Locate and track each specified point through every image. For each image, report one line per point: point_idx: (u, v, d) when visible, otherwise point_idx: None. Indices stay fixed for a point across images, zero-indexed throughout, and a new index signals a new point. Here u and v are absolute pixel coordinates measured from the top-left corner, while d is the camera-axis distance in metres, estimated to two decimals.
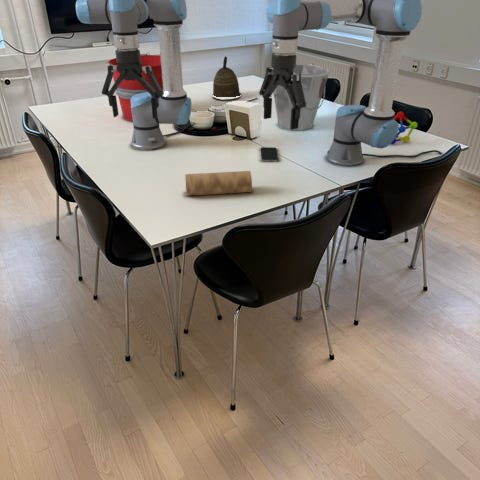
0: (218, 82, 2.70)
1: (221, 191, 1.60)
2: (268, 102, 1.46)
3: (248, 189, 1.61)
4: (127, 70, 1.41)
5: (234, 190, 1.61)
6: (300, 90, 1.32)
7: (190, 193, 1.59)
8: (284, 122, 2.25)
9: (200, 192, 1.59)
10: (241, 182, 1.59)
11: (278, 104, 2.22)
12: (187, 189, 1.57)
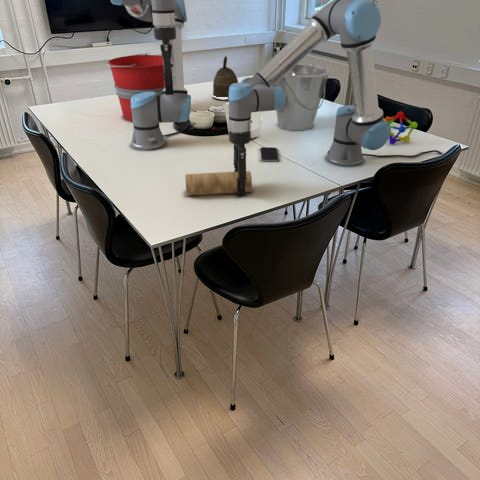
0: (218, 82, 2.70)
1: (221, 191, 1.60)
2: None
3: (248, 189, 1.61)
4: None
5: (234, 190, 1.61)
6: None
7: (190, 193, 1.59)
8: (284, 122, 2.25)
9: (200, 192, 1.59)
10: None
11: None
12: (187, 189, 1.57)
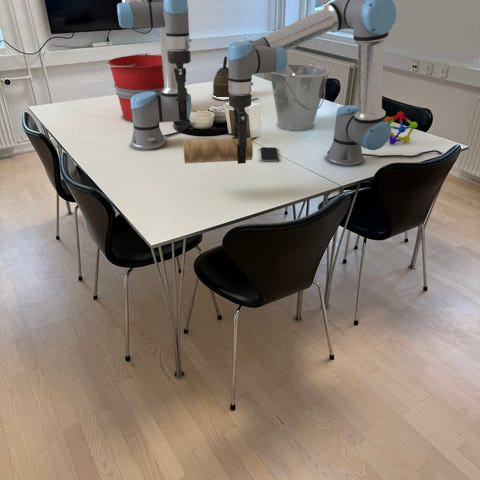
0: (218, 82, 2.70)
1: (221, 158, 1.54)
2: None
3: (249, 156, 1.55)
4: None
5: (234, 157, 1.54)
6: None
7: (188, 160, 1.52)
8: (284, 122, 2.25)
9: (199, 159, 1.53)
10: None
11: (278, 104, 2.22)
12: (185, 156, 1.51)
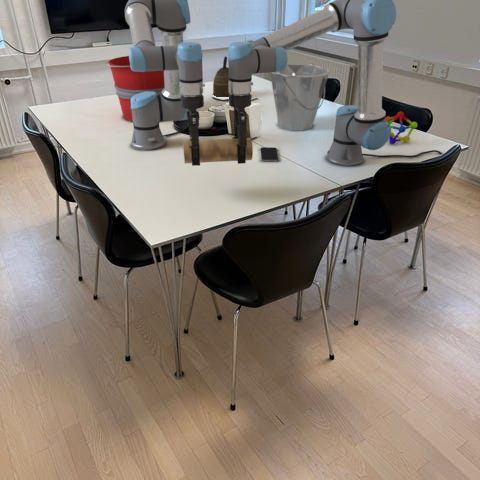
0: (218, 82, 2.70)
1: (220, 158, 1.54)
2: None
3: (249, 156, 1.55)
4: None
5: (234, 157, 1.54)
6: None
7: (188, 160, 1.52)
8: (284, 122, 2.25)
9: None
10: None
11: (278, 104, 2.22)
12: (185, 156, 1.51)
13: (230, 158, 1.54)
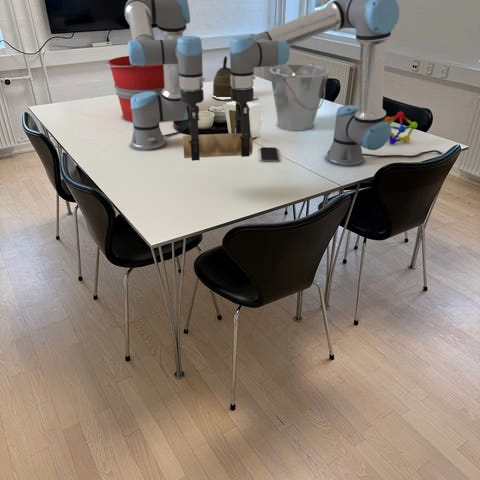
0: (218, 82, 2.70)
1: (220, 153, 1.53)
2: None
3: (249, 151, 1.54)
4: None
5: (234, 152, 1.53)
6: None
7: (188, 155, 1.52)
8: (284, 122, 2.25)
9: None
10: None
11: (278, 104, 2.22)
12: (185, 151, 1.50)
13: (230, 153, 1.53)
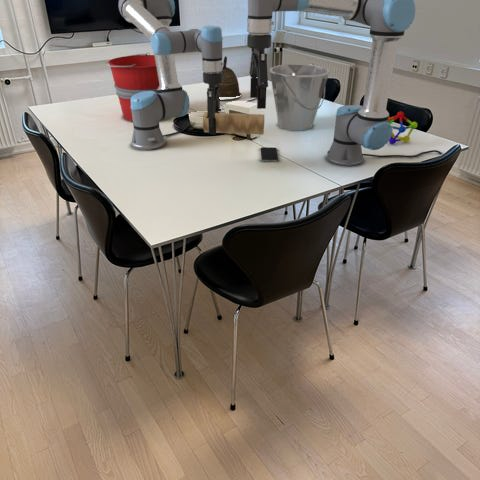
0: None
1: (234, 130, 1.74)
2: None
3: (259, 131, 1.73)
4: (215, 89, 1.70)
5: (246, 130, 1.74)
6: None
7: (206, 129, 1.76)
8: (284, 122, 2.25)
9: None
10: (253, 123, 1.72)
11: (278, 104, 2.22)
12: (203, 125, 1.74)
13: (243, 131, 1.74)
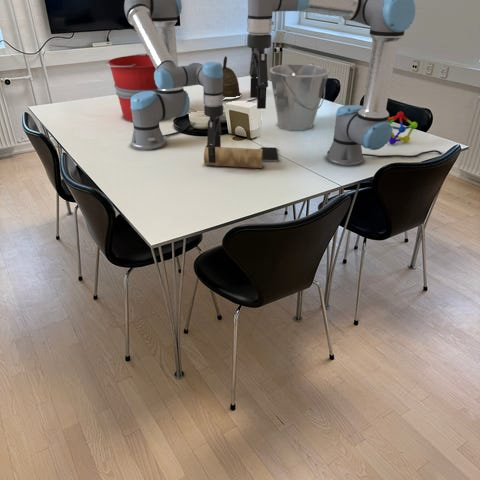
0: None
1: (234, 164, 1.82)
2: None
3: (258, 165, 1.81)
4: (216, 121, 1.76)
5: (245, 164, 1.81)
6: None
7: (207, 163, 1.83)
8: (284, 122, 2.25)
9: (216, 163, 1.83)
10: (252, 157, 1.79)
11: (278, 104, 2.22)
12: (204, 159, 1.82)
13: (242, 164, 1.82)
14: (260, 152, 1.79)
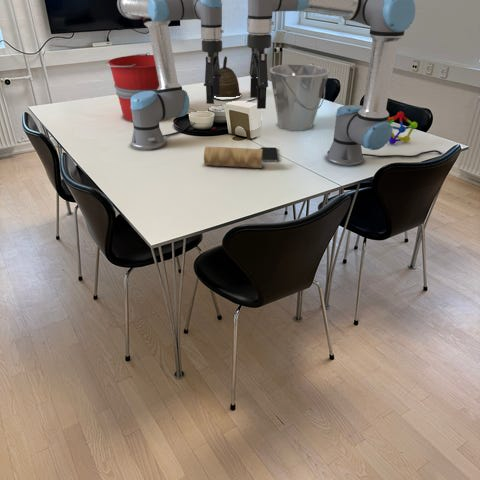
0: None
1: (234, 164, 1.82)
2: None
3: (258, 165, 1.81)
4: None
5: (245, 164, 1.81)
6: None
7: (207, 163, 1.83)
8: (284, 122, 2.25)
9: (216, 163, 1.83)
10: (252, 157, 1.79)
11: (278, 104, 2.22)
12: (204, 159, 1.82)
13: (242, 164, 1.82)
14: (260, 152, 1.79)
